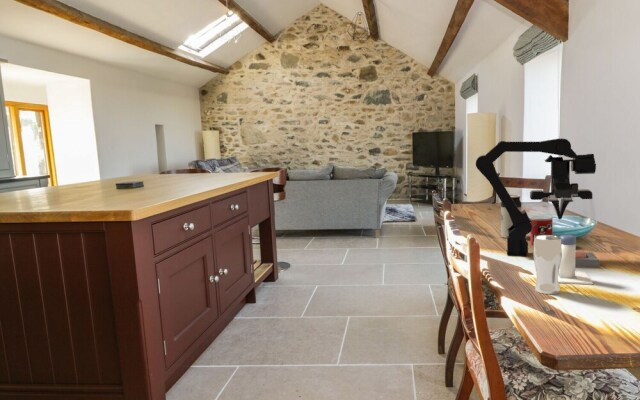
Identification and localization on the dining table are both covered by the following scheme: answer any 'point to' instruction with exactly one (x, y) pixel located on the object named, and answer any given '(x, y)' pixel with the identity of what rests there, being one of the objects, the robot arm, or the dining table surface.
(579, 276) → the cream square base plate
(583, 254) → the button
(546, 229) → the canned food
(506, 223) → the travel mug
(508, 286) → the dining table surface
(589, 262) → the button housing
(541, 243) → the beer glass
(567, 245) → the blue capped bottle
